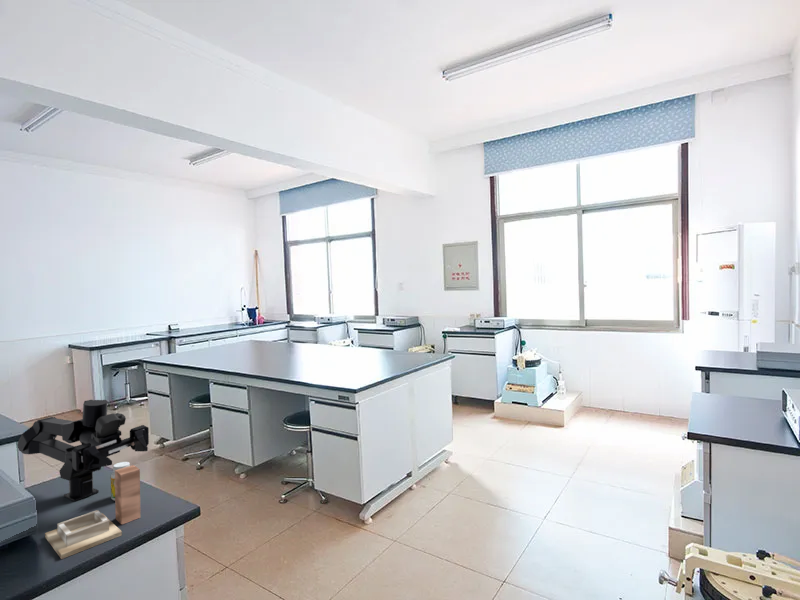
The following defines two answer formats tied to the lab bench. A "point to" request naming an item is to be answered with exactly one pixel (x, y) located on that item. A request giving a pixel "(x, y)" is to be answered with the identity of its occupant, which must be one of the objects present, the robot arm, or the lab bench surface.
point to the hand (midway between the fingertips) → (129, 455)
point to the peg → (127, 494)
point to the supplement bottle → (115, 467)
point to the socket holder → (82, 533)
